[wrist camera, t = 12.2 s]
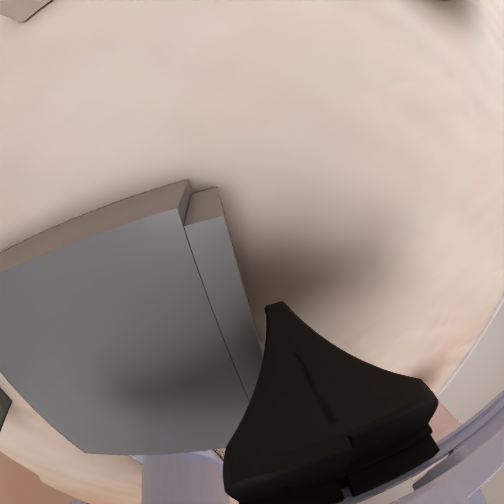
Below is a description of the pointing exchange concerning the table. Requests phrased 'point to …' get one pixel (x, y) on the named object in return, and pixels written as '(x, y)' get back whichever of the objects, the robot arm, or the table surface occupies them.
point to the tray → (224, 283)
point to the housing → (119, 332)
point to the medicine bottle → (20, 8)
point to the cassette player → (4, 406)
